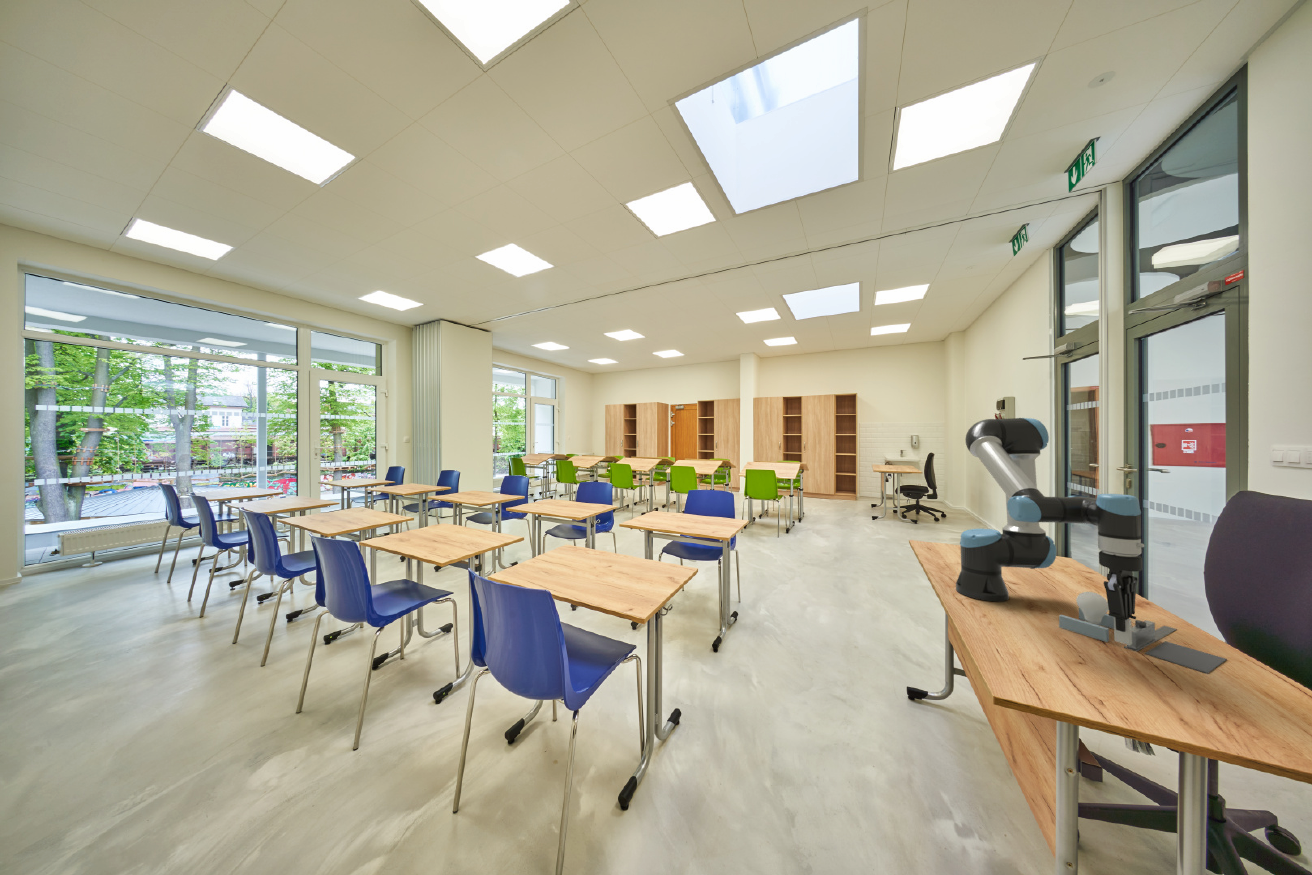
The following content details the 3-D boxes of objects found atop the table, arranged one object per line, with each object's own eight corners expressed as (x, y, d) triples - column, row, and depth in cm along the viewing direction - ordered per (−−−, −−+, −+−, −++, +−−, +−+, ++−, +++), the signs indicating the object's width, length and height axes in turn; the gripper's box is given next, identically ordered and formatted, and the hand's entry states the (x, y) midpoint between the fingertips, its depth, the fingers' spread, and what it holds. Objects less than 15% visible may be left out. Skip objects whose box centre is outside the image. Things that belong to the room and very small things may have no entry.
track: (1124, 647, 109) (1124, 646, 109) (1164, 626, 120) (1164, 625, 120) (1137, 651, 107) (1137, 650, 107) (1176, 629, 118) (1176, 628, 118)
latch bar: (1125, 646, 109) (1125, 625, 109) (1145, 635, 114) (1144, 615, 114) (1136, 649, 107) (1136, 628, 107) (1156, 639, 112) (1155, 618, 113)
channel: (1059, 627, 121) (1058, 615, 121) (1081, 617, 127) (1080, 606, 127) (1106, 642, 112) (1106, 629, 112) (1128, 631, 118) (1127, 619, 118)
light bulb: (1117, 634, 116) (1116, 596, 116) (1093, 634, 116) (1092, 596, 116) (1092, 624, 123) (1091, 588, 123) (1070, 624, 123) (1069, 588, 123)
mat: (1144, 654, 106) (1144, 652, 106) (1165, 642, 111) (1165, 641, 111) (1207, 673, 96) (1207, 672, 96) (1226, 659, 102) (1226, 658, 102)
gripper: (1130, 559, 100) (1134, 654, 99) (1151, 553, 105) (1155, 643, 105) (1088, 552, 107) (1091, 641, 106) (1110, 546, 112) (1113, 631, 112)
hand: (1123, 642), depth 106 cm, fingers closed
